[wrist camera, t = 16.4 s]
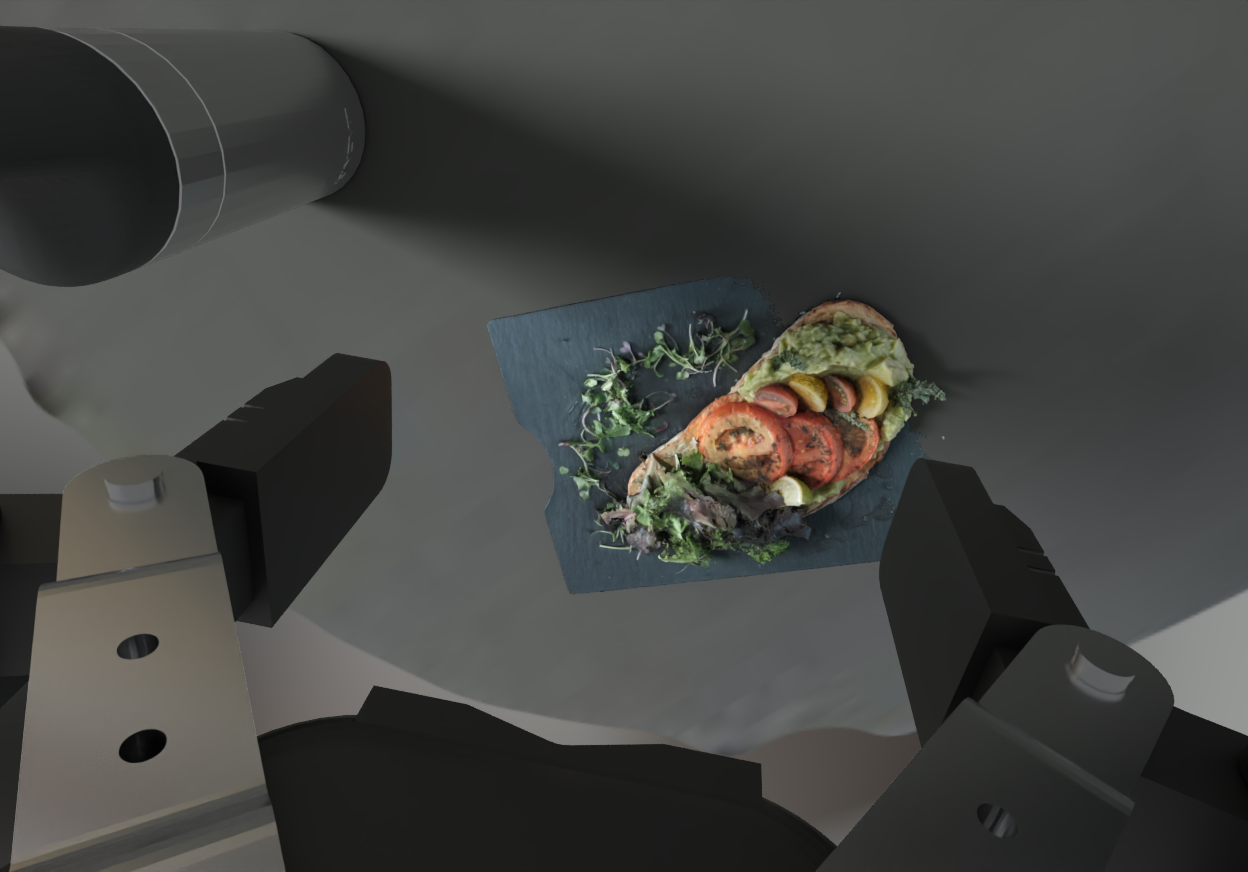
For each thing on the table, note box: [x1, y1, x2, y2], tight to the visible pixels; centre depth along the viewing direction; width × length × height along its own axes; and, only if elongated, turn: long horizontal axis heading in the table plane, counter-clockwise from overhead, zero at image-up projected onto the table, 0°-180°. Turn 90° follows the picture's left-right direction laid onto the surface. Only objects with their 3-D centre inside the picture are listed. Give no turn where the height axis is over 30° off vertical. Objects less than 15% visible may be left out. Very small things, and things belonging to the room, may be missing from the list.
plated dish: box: [487, 276, 946, 594], centre depth 49 cm, size 35×28×7 cm
